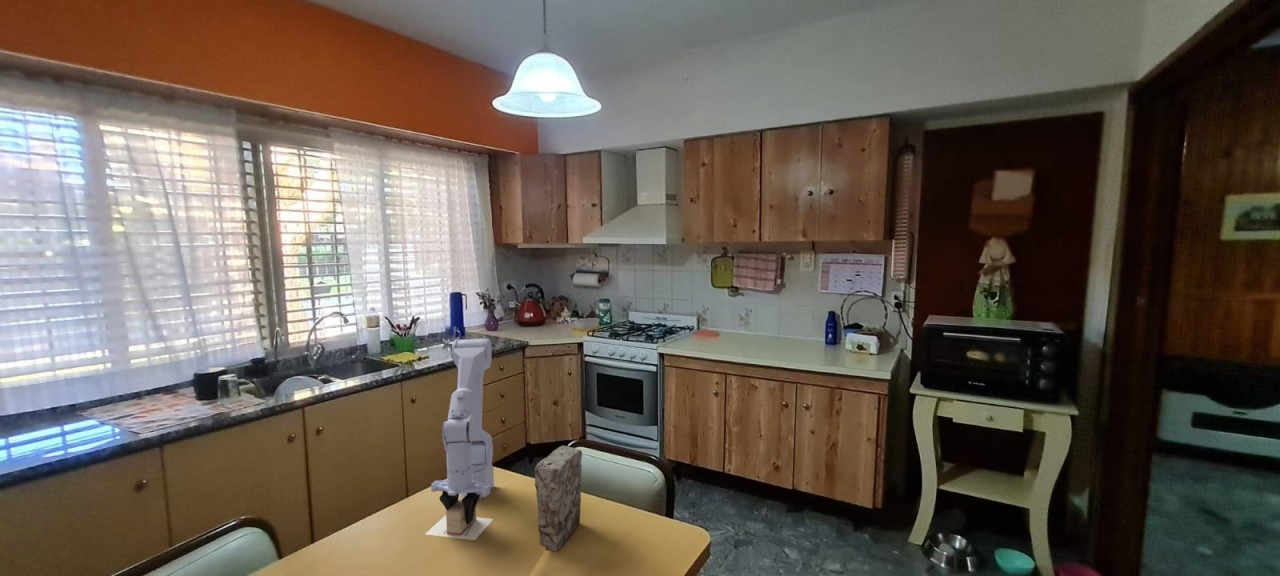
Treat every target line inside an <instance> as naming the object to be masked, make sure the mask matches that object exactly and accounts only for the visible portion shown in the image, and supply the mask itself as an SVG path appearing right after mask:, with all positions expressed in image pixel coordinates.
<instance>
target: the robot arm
mask: <svg viewBox="0 0 1280 576" xmlns="http://www.w3.org/2000/svg"><path fill="white" fill-rule="evenodd" d="M451 345H452V346H451V357H452V360H453V362H454V365H455V366H456V367H457V369H458V371H457V388H456V390H455V391H453V392H452V393H451V397H450V403H449V409H448V414H447V420H445V421H444V422H443V423H442V429H441V430H442V432H441V434H442V435H441V436H442V443H443V446H444V447H443V448H444V452H446V454H445V455H446V471H447V472H446V474H447V475H446V476H447V480H445V479H443V480H436V479H435V480H434V482H432V483H430V484H431V485H430V486H431V487H430V489H431V490H430V491H431V492H433V493H434V492H435V493H436V492H439V491H440V492H442V493H441V495H440V496H439V501H440V502H441V504H443V507H444V508H445V510H446V511H447V510H449V509H450V508H451V507H452V506H453V505H454V504H455V503H456V502H457V501H459V497H461V498H462V497H464V498H463V499H462V503H463V506H464V510H465V520H466V524H469V523H470V522H471V521H472V520H473V516H474V511H475V507H476V506H477V504H478V501H479V500H480V499H482V498H484V497H485V498H486V497H487V496H489V495H490V493H491V489H492V488H494V487H495V483H494V482H495V480H494V479H495V478H494V473H495V472H494V465H493V464H492V463H493V462H492V461H493V459H494V458H493V456H494V446H493V437H492V435H491V434H489V432H487V431H486V430H484V429H483V397H484V395H483V394H484V375H485V371H486V370H487V369H489V368H491V367H492V366H491V365H492V354H493V353H492V341H491V339H490V338H487V337H486V338H477V339H476V338H475V339H473V338H472V339H454V341H453V342H452V344H451ZM461 498H460V499H461ZM476 508H477V507H476Z"/></svg>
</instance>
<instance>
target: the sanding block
mask: <svg viewBox="0 0 1280 576" xmlns="http://www.w3.org/2000/svg"><path fill="white" fill-rule="evenodd" d="M463 498H464V497H462V498H460V499H458V501H457V502H456V503H455V504H454V505H453V506H452V507H451V508H450V509H449V510H446V511H445V515H446V523H447V534H450V535H459V536H461V535H462V534H463V533H464V532H465V531H466V530H467V529H468V528H469V527H470V526H471V524H472V523H473V522H474V521H475V520H476V517H477V507H475V511H474V516H473V520H472V521H471V522H470V523H469V524H466V520H465V510H464V506H463V503H462V499H463Z"/></svg>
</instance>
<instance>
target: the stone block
mask: <svg viewBox="0 0 1280 576" xmlns="http://www.w3.org/2000/svg"><path fill="white" fill-rule="evenodd" d="M582 457H583V452H582V450H581V449H579V448H576V447H571V446H567V445H560V446H559V447H557V448H556V449H554V450H553V451H552V452H551V453H549V454H548V456H547V457H545V458H543V459H541V460H540V461H539V462H537V465H536V466H535V469H534V476H535V477H534V487H535V491H536V492H535V493H536V501H537V502H536V503H537V508H538V509H537V510H538V518H537V520H538V521H537V522H538V533H539V545H541V546H545V547H546V548H545V550H546V551H550V552H554V553H557V552H560V551H561V550H562V549H563V547H564V546H565V545H566V544H567V543H568V541H569V540H570V538H571V537H572V535H573V534H574V533H575V531H576V530H577V529H578V527H579V526H581V522H580V521H581V520H580V519H581V505H582V503H581V501H582V498H581V497H582V495H581V494H582V492H581V490H582V483H581V482H582V459H583V458H582Z"/></svg>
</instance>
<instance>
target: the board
mask: <svg viewBox="0 0 1280 576" xmlns="http://www.w3.org/2000/svg"><path fill="white" fill-rule="evenodd" d="M493 521H494V518H488V517H478V516H476V520H475V521H474V522H473V523H472V524H471V526H470V527H469V528H468V529H467V530H466V531H465V532H464V533H463V534H462V535H461V536H459V535H450V534H447V523H446V514H445V515H444V516H443V517H442V518H440V520H438V521H437V522H436V524H434V525H433V526H432V527H431V528H429V530H428V531H427V532H426V533H424V535H426V536H432V537H433V536H435V537H443V538H450V539H451V538H452V539H461V540H469V541H470V540H471V541H476V540H477V539H478V538H479V536H480V535H481V534H482V533H483V532H484V531H485V530H486V528H487V527H488V526H489V525H490V524H491V523H492V522H493Z"/></svg>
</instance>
